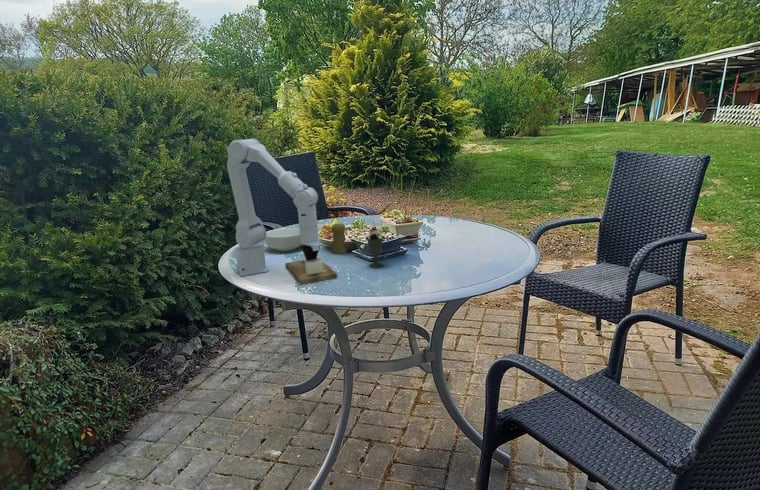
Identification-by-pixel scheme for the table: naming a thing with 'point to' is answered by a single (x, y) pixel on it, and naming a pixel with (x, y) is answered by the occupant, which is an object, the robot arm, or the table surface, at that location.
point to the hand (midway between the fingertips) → (311, 266)
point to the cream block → (314, 266)
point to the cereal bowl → (283, 239)
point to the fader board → (303, 278)
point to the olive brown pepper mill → (338, 239)
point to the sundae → (375, 246)
